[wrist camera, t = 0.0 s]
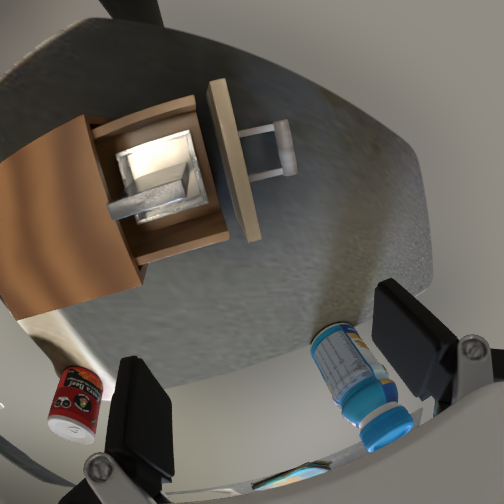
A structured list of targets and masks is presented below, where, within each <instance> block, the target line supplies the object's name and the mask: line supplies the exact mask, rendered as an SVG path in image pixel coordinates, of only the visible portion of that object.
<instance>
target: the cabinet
mask: <svg viewBox="0 0 504 504" xmlns="http://www.w3.org/2000/svg"><path fill="white" fill-rule="evenodd" d="M114 120H116V119H114V118H108V117H101V116H94V115H86V114H83V115H81V116H79V117H77V118H75V119H73V120H71V121H69V122H67V123H65V124H63V125H61V126H59V127H57V128H55V129H53V130H52V131H50V132H48V133H46V134H45V135H43V136H41V137H39V138H38V139H36V140H34V141H33V142H31V143H29V144H28V145H26V146H25V147H23V148H22V149H20V150H18V151H17V152H15V153H14V154H12V155H11V156H9V157H8V158H7V159H5V160H4V161H2V162H1V163H0V295H1V296H2V298H3V300H4V302H5V303H6V305H7V307H8V308H9V310H10V312H11V313H12V315H13V317H14V318H15V320H16V321H17V320H21V319H24V318H28V317H32V316H35V315H39V314H42V313H46V312H49V311H53V310H56V309H60V308H63V307H67V306H70V305H74V304H78V303H81V302H85V301H88V300H92V299H95V298H99V297H102V296H106V295H109V294H113V293H116V292H120V291H123V290H127V289H130V288H134V287H137V286H141V285H142V284H143V280H144V277H145V273H146V270H147V266H148V263H146V264H143V265H139V266H137V264H136V262H135V260H134V257H133V255H132V253H131V250H130V248H129V245H128V243H127V240H126V238H125V235H124V232H123V230H122V227H121V225H120V222H119V220H116V221H112V219H111V217H110V214H109V211H108V208H107V206H106V204H107V203H108V202H110V201H111V197H110V194H109V191H108V188H107V184H106V181H105V178H104V175H103V172H102V168H101V165H100V162H99V158H98V155H97V151H96V148H95V144H94V140H93V136H92V132H91V130H93V129H95V128H97V127H100V126H102V125H104V124H107V123H109V122H112V121H114Z"/></svg>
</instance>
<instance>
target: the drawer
mask: <svg viewBox="0 0 504 504" xmlns="http://www.w3.org/2000/svg"><path fill="white" fill-rule="evenodd" d="M206 98H207V103H208V107H209V111H210V115H211V119H212V123H213V127H214V131H215V136H216V140H217V144H218V148H219V152H220V156H221V160H222V164H223V168H224V172H225V176H226V180H227V184H228V188H229V192H230V196H231V200H232V204H233V208H234V212H235V216H236V219H237V221H238V223H239V225H240V227H241V229H242V231H243V233H244V235H245V237H246V239H247V241H248V243H250V242H253V241H257V240H260V239H262V236H261V232H260V227H259V223H258V218H257V214H256V209H255V205H254V200H253V196H252V191H251V187H250V183H249V182H253V181H257V180H261V179H265V178H269V177H273V176H277V175H282V174H283V175H284V176H291V175H295V174H297V173H298V169H297V163H296V158H295V152H294V147H293V142H292V137H291V132H290V127H289V122H288V119H284V120H278V121H273V122H272V124H269V125H264V126H259V127H254V128H249V129H244V130H240V131H238V130H237V126H236V122H235V117H234V113H233V109H232V105H231V100H230V96H229V92H228V88H227V84H226V80H225V78H223V79H218V80H213V81H210V82H209V85H208V89H207V92H206ZM185 130H190V133H191V137H192V140H193V144H194V148H195V152H196V156H197V160H198V164H199V167H200V171H201V175H202V179H203V182H204V186H205V190H206V193H207V197H208V202H209V203H208V204H205V205H201V206H198V207H195V208H191V209H188V210H184V211H181V212H178V213H175V214H171V215H168V216H165V217H162V218H158V219H155V220H152V221H149V222H146V223H143V224H140V225H137V222H136V219H135V216H134V214H133V215H130V216H128V217H125V218H122V219H119V222H120V225H121V227H122V230H123V232H124V235H125V238H126V240H127V243H128V245H129V248H130V250H131V253H132V255H133V257H134V260H135V262H136V264H137V266H139V265H143V264H146V263H149V262H153V261H156V260H159V259H163V258H166V257H169V256H173V255H176V254H180V253H183V252H186V251H190V250H193V249H197V248H200V247H204V246H207V245H211V244H214V243H218V242H221V241H225V240H228V239H230V234H229V230H228V228H227V225H226V222H225V219H224V216H223V213H222V210H221V207H220V203H219V199H218V195H217V192H216V188H215V184H214V180H213V176H212V172H211V168H210V165H209V161H208V157H207V153H206V149H205V145H204V141H203V137H202V133H201V129H200V125H199V121H198V117H197V113H196V101H195V97H194V95H189V96H186V97H182V98H179V99H175V100H172V101H168V102H165V103H162V104H159V105H155V106H152V107H149V108H146V109H144V110H141V111H138V112H135V113H132V114H130V115H127V116H124V117H122V118H119V119H117V120H114V121H112V122H109V123H107V124H104V125H102V126H100V127H97V128H95V129H93V130H91V132H92V136H93V140H94V144H95V148H96V151H97V155H98V158H99V162H100V165H101V168H102V172H103V175H104V178H105V181H106V184H107V188H108V191H109V194H110V197H111V200H112V199H113V198H114V197H115V196H116V195H118V194H119V193H120V192H121V191H122V190H123V189H125V187H124V184H123V180H122V177H121V174H120V171H119V167H118V164H117V161H116V157H115V154H117V153H119V152H122V151H125V150H127V149H130V148H133V147H136V146H138V145H141V144H144V143H147V142H150V141H153V140H156V139H159V138H162V137H165V136H168V135H172V134H175V133H178V132H182V131H185ZM269 131H274V133H275V138H276V143H277V148H278V153H279V158H280V163H281V167H278V168H274V169H270V170H265V171H261V172H257V173H253V174H249V175H248V174H247V169H246V165H245V161H244V156H243V152H242V147H241V143H240V139H239V138H241V137H245V136H250V135H254V134H259V133H264V132H269Z"/></svg>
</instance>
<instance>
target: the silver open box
mask: <svg viewBox="0 0 504 504" xmlns="http://www.w3.org/2000/svg"><path fill="white" fill-rule="evenodd" d="M115 157H116V161H117V164H118V167H119V171H120V174H121V177H122V180H123V184H124V187H125V189H123V190H122V191H121V192H120V193H119V194H118V195H116V196H115V197H114V198H113V199H112V200H111V201H110V202H108V203H107V204H106V206H107V208H108V211H109V214H110V217H111V219H112V221H116V220H119V219H122V218H125V217H128V216H130V215H133V214H134V216H135V219H136V222H137V225H140V224H143V223H146V222H149V221H152V220H155V219H158V218H162V217H165V216H168V215H171V214H175V213H178V212H181V211H184V210H188V209H191V208H195V207H198V206H201V205H205V204H208V203H209V202H208V197H207V193H206V190H205V186H204V182H203V179H202V175H201V171H200V167H199V164H198V160H197V156H196V152H195V148H194V144H193V140H192V137H191V133H190V130H185V131H182V132H178V133H175V134H172V135H168V136H165V137H162V138H159V139H156V140H153V141H150V142H147V143H144V144H141V145H138V146H136V147H133V148H130V149H127V150H125V151H122V152H119V153H117V154H115Z"/></svg>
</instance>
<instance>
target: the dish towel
mask: <svg viewBox="0 0 504 504" xmlns="http://www.w3.org/2000/svg"><path fill="white" fill-rule="evenodd" d="M330 469H331V468H330V466H328V465H318V464H314V463H309V462H307V463H305V464H303V465H301V466H299V467H297V468H294V469H292V470H290V471H288V472H286V473H283V474H281V475H279V476H277V477H274V478H272V479H270V480H267V481H264V482H262V483H259V484H257V485H254V486H252V488H253V490H268V489H272V488H276V487H280V486H283V485H287V484H290V483H294V482H297V481H300V480H304V479H307V478H310V477H313V476H316V475H319V474H321V473H324V472H327V471H330Z"/></svg>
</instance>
